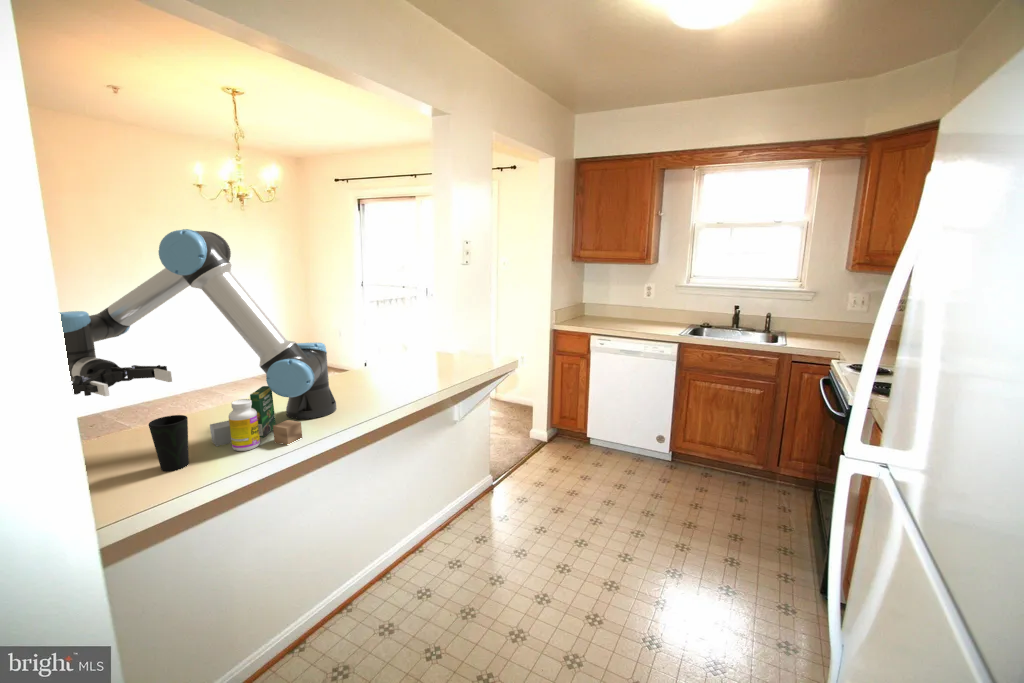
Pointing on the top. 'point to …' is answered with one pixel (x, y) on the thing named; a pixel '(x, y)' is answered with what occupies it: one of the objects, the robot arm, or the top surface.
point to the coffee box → (264, 409)
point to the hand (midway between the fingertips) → (140, 383)
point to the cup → (171, 441)
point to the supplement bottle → (244, 426)
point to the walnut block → (287, 432)
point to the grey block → (220, 433)
